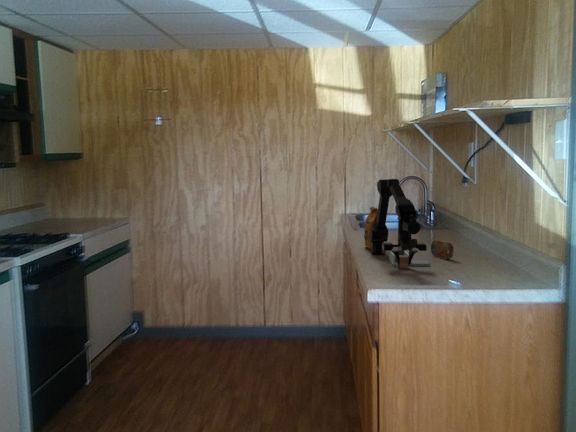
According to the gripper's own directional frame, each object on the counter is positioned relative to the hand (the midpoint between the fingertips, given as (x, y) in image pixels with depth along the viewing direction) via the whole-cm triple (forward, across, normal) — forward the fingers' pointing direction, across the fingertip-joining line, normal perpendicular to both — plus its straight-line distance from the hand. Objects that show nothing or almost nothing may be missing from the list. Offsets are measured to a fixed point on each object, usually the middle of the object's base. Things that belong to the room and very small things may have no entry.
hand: (403, 265), depth 248 cm
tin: (+1, +22, +24) cm, 33 cm away
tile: (+1, +8, +8) cm, 12 cm away
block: (+1, 0, +2) cm, 2 cm away
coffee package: (+1, -8, +48) cm, 48 cm away
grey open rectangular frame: (+1, 0, +12) cm, 12 cm away
